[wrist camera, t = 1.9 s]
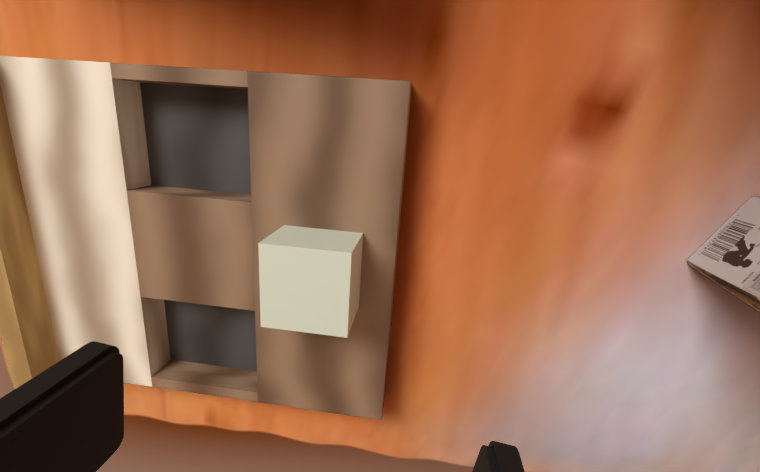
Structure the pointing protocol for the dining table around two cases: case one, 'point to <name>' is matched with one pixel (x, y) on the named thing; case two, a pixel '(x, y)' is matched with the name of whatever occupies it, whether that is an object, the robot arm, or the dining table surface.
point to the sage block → (310, 280)
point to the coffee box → (734, 254)
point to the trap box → (194, 222)
